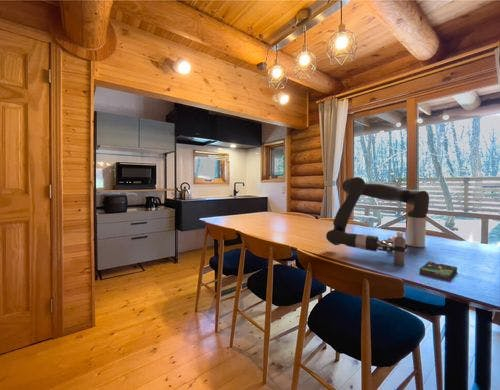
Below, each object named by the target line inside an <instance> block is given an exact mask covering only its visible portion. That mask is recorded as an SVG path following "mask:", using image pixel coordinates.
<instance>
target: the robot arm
mask: <svg viewBox="0 0 500 390" xmlns="http://www.w3.org/2000/svg"><path fill="white" fill-rule="evenodd" d="M341 188H342V190H343V191H344V192H345V193H346V194H348V195H347V197H346V198H345V200H344V201H343V203H342V204H341V205H340V206H339V208H338V210H337V212H336V215H335V216H334V219H333V222H332V224H333V229H331V230H329V231H327V232H326V236H325V238H326V240H327V241H328V242H329V243H330V244H332V245H333V246H339V245H344V246H345V247H350V248H354V249H355V248H356V249H359V250H365V251H370V252H375V253H376V252H377V251H383V252H387V251H388V252H389V253H394V251H398V252H405V249H407V250H408V246H411V247H414V248H424V247H425V245H426V230H427V229H426V228H427V214H428V213H429V206H430V204H429V203H430V195H429V193H428V192H427V191H426V190H422V189H418V190H417V189H402V188H398V187H397V186H395V185H392V184H388V183H382V182H365V180H364V179H363V177H360V176H355V177H354V176H353V177H350V178H347V179H345V180H343V182H342V185H341ZM361 196H366V197H370V198H373V199H379V200H382V201H383V200H384V201H390V202H401V203H403V204H404V203H405V204H407V205H411V206H413V209H412V210H409V211H407V217H406V218H407V221H406V222H407V224H406V225H407V226H406V228H405V238H404V239H405V247H399V246H394V245H393V244H394V241H390V240H388V239H383V240H379V237H378V236H377V235H372V234H371V235H370V234H358V233H349V232H346V228H347V225H348V222H349V220H350V217H351V215H352V213H353V210H354V208H355V207H356V205H357V202H358V201H359V199H360V197H361Z"/></svg>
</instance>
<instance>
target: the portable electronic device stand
mask: <svg viewBox="0 0 500 390" xmlns="http://www.w3.org/2000/svg"><path fill="white" fill-rule="evenodd" d="M396 237H397V235H394V236H391V237H388V238H387V240H390V241H394V239H395V238H396ZM393 245H394V244H393ZM386 252H388V251H386ZM407 252H408V248H407V249H405V254H406V253H407Z"/></svg>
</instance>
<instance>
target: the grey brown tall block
mask: <svg viewBox="0 0 500 390" xmlns="http://www.w3.org/2000/svg"><path fill="white" fill-rule="evenodd" d="M396 236H397V237H396V238H395V239H394V246H399V247H405V238H404V232H403V231H402V232H401V231H396ZM405 259H406V253H405V252H398V251H393V265H396V266H399V267H402V266H403V267H404V266H405V264H406V263H405Z"/></svg>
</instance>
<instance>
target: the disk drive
mask: <svg viewBox="0 0 500 390" xmlns="http://www.w3.org/2000/svg"><path fill="white" fill-rule="evenodd" d="M456 273H458V267H457V266H453V265H448V264H443V263H435V261H427V262H426V263H425V264H424V265H422V266H421V267H420V268H419V273H418V274H419V275H423V276H425V277H426V276H427V277H431V278H436V279H440V280H443V281H447V282H450V281H451V280H452V279H453V278H454V277H455V275H456Z"/></svg>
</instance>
